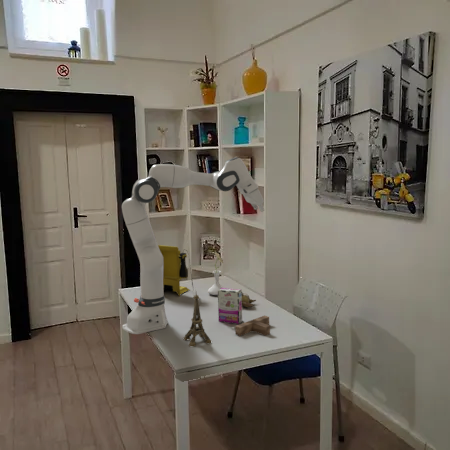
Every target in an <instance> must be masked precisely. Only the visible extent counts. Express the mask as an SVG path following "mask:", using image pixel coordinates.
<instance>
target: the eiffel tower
mask: <svg viewBox="0 0 450 450" xmlns="http://www.w3.org/2000/svg"><path fill="white" fill-rule="evenodd" d="M193 299H194V305H193V314H192V318H191V326H190V327H189V330H188V331H187V332H186V333H185V335H184V337H183V338H184V339H185V341H188V340H187V339H190V340H189V343H188V344H189V345H188V347H190V346H193V347H196V346H197V344H196V337H197V336H198V337H200V338H203V339H204V342H205V344H207V343H209V344H212V343H211V341H212V339H210V338H209V336H208V334H207V333H206V332H205V328H204V326H203V318H201V312H200V305H199V304H200V303H199V299H200V297H199V294H197V292H195V295H193ZM184 339H183V340H184ZM195 345H196V346H195Z"/></svg>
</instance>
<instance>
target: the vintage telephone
mask: <svg viewBox="0 0 450 450" xmlns="http://www.w3.org/2000/svg"><path fill="white" fill-rule="evenodd" d="M158 247H159V249H160V252H161V253H162V255H163V291H165V290H164V289H166V290H168V289H172V292H176V294H178V296H179V297H181V295H182V293H183V294H184V292H185V293H187V292H189V291H191V292H193V293H194V291H195V290H194V289H195V288H192V289H193V290H191V289H189V288H188V287H187V286H182V285H181V284H180V280H182V279H187V278H188V275H189V273H188V268H187V264H186V263H187V262H186V258H188V256H190V255H189V253H186V252H188V250H187V249H183V251H182V252H181V250H180V249H179V247H178V246H175V245H173V246H172V245H171V246H170V245H163V244H162V245H161V244H158ZM184 251H186V252H184ZM187 254H188V255H187ZM188 260H189V262H190V261H191V260H190V258H189V259H188ZM189 267H190V271H192V268H191V266H189ZM192 275H193V274H192V273H190V277H191V278H190V279H191V280H193V276H192ZM191 285H192V286H191V287H194V283H193V281H191ZM167 288H168V289H167ZM188 290H189V291H188ZM186 291H187V292H186ZM180 294H181V295H180Z"/></svg>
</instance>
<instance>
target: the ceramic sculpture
mask: <svg viewBox="0 0 450 450" xmlns="http://www.w3.org/2000/svg"><path fill="white" fill-rule="evenodd" d="M256 301H257V299H251V298H250V296H249V295H248V293H246V292H245V293H244V292H242V308H243V307H245V308H252V307H255V305H254V304H252V303H254V302H256Z"/></svg>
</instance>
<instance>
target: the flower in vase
mask: <svg viewBox="0 0 450 450" xmlns="http://www.w3.org/2000/svg"><path fill="white" fill-rule="evenodd" d="M214 255H215V257H216V258H217V259H216V260H215V264H214V268H215V270H213V271H212V273H213V276H214V284H212V286H211V287H209V288H208V290H207V293H208V294H209V295H212V296H218V290H219V289H221V288H225V287H224V286H222V285H221V284H220V274H221V272H222V270H217V269H219V268H220V266H217V262H218V261H219V262H220V263H221V264H224V259H223V258H222V256H221V255H220V254H219V253H218V252H215V253H214Z"/></svg>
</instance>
